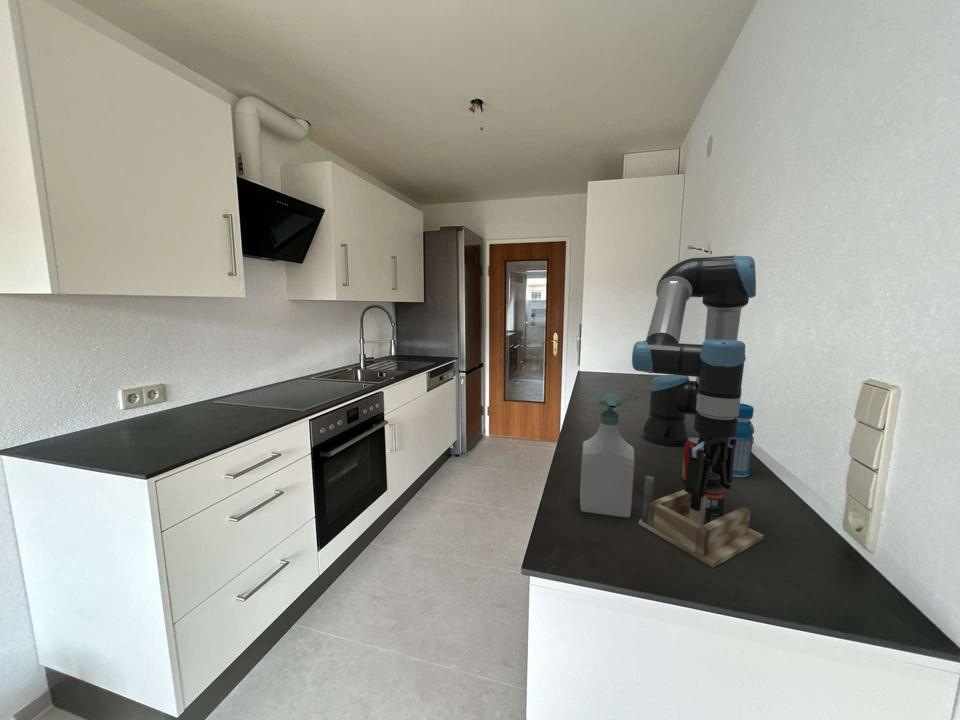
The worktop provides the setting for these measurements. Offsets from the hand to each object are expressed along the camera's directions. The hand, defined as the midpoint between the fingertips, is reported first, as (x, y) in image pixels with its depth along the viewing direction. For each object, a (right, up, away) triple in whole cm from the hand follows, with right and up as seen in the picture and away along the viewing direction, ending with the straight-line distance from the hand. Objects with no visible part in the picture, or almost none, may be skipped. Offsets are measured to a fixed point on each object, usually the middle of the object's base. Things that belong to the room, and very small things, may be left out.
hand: (705, 518), depth 81 cm
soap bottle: (-19, -1, +8) cm, 21 cm away
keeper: (-2, -2, -1) cm, 3 cm away
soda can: (+11, 0, +22) cm, 24 cm away
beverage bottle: (+25, +1, +29) cm, 38 cm away
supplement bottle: (0, -1, 0) cm, 1 cm away
